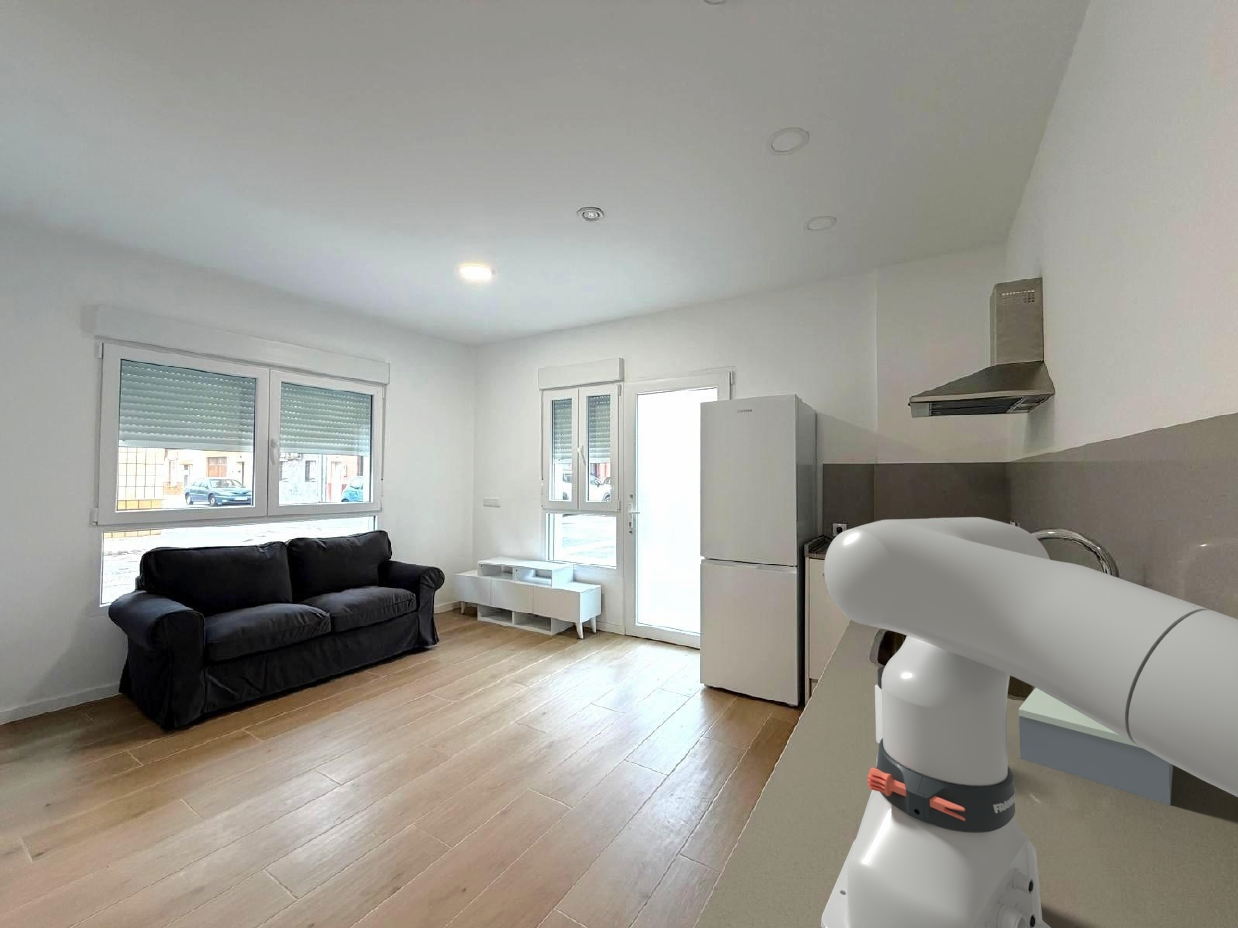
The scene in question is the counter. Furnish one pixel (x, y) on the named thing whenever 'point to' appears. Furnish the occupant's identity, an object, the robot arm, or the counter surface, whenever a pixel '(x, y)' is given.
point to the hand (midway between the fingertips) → (1182, 674)
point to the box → (1096, 759)
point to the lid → (1064, 716)
